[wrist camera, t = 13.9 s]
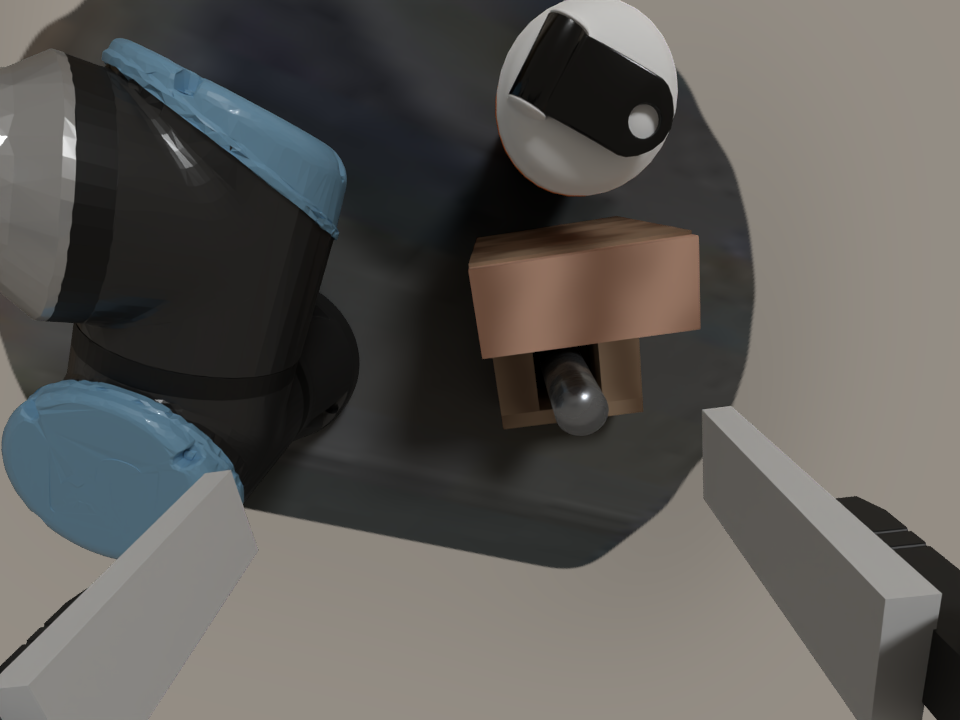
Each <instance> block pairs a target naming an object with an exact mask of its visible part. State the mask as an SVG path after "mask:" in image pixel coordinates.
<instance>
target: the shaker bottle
mask: <svg viewBox="0 0 960 720" xmlns="http://www.w3.org/2000/svg"><path fill="white" fill-rule="evenodd" d="M677 93H678V89H677V75H676V69H675V65H674V61H673V57H672V53H671V51H670V49H669V47H668V45H667V43H666V41H665V39H664V37H663V35H662V34H661V32H660V31H659V30H658V29H657V27H656V26H655V25H654V23H653V22H652V21H651V20H650V19H649V18H648V17H646V16H645V15H644V14H643V13H642V12H640V11H639V10H638V9H637V8H634V7H633V6H630V5H628V4H626V3H624V2H622V1H620V0H566V1H563V2H561V3H559V4H557V5H555V6H553V7H551V8H549V9H547V10H545V11H544V12H543V13H542V14H540V15H539V16H538V17H536V18H535V19H534V20H532V21H531V22H530V23H529V24H528V26H527V27H526V28H525V29H524V30H523V31H522V32H521V33H520V35H519V36H518V37H517V39H516V41H515V42H514V44H513V46H512V47H511V49H510V51H509V52H508V54H507V57H506V59H505V62H504V65H503V67H502V70H501V73H500V78H499V83H498V88H497V94H496V122H497V127H498V133H499V136H500V139H501V142H502V144H503V147H504V150H505V152H506V153H507V155H508V157H509V158H510V160H511V162H512V163H513V165H514V166H515V167H516V169H517V170H518V171H519V172H520V173H521V174H522V175H523V176H524V177H525V178H527V179H528V180H530V181H531V182H532V183H534V184H535V185H536V186H538V187H540V188H542V189H545V190H547V191H549V192H551V193H555V194H560V195H565V196H587V195H594V194H599V193H604V192H607V191H610V190H612V189H614V188H617V187H619V186H622V185H623V184H625V183H626V182H628V181H629V180H631V179H632V178H634V177H635V176H637V175H638V174H639V173H640V172H641V171H642V170H643V169H644V168H645V167H646V166H647V165H648V164H649V163H650V162H651V161H652V160H653V158H654V157H655V155H656V154H657V153H658V151H659V150H660V149H661V147H662V145H663V143H664V141H665V139H666V137H667V135H668V133H669V131H670V129H671V126H672V122H673V118H674V114H675V111H676V102H677Z"/></svg>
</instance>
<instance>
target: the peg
mask: <svg viewBox="0 0 960 720" xmlns="http://www.w3.org/2000/svg"><path fill="white" fill-rule="evenodd" d="M539 362H540V367H541V370H542V374H543V377H544V381H545V384H546V388H547V391H548V395H549V398H550V402H551V405H552V409H553V412H554V416H555V419H556V422H557V423H558V425H559V426H560V428H561V429H562V430H564V431H565V432H567V433H569V434H572V435H576V436H585V435H589V434H592V433H594V432H596V431H597V430H599V429H600V428H601V427H602V426H603V424H604V423H605V421H606V419H607V417H608V412H609V407H608V403H607V400H606V398H605V396H604V395H603V393H602V391H601V389H600V388H599V386H598V384H597V382H596V381H595V379H594V377H593V375H592V373H591V372H590V370H589V368H588V366H587V365H586V363H585V361H584V359H583V358H582V356H581V354H580V352H579V350H578V349H577V347H576V346H574V347H567V348H559V349H552V350H545V351H541V354H540V358H539Z"/></svg>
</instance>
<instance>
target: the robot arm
mask: <svg viewBox="0 0 960 720" xmlns="http://www.w3.org/2000/svg"><path fill="white" fill-rule="evenodd" d="M102 60H103V61H104V63H105V64H106V66H105V67H103V66H99V65H96V64H93V63H90V62H88V61H85V60H82V59H79V58H77V57H74V56H71V55H68V54H66V53H63V52H61V51H58V50H54V49H49V50H46V51H44V52H42V53H39V54H37V55H34V56H32V57H29V58H27V59H24V60H22V61H19V62H17V63H15V64H12V65H10V66H7V67H1V68H0V292H1V293H2V294H3V295H4V296H5V297H6V298H8V299H9V300H10V301H11V302H12V303H14V304H15V305H16V306H17V307H18V308H20V309H21V310H22V311H23V312H24V313H26V314H27V315H28V316H29V317H30V318H32V319H34V320H37V321H50V322H67V323H74V325H73V332H72V340H71V347H70V354H69V362H68V369H67V373H66V376H65V378H64V379H63V381H60V382H57V383H53V384H48V385H46V386H43V387H41V388H39V389H38V390H37V391H36V392H35V393H34V394H32V395H31V396H30V397H29V398H28V400H27V401H25V402H24V403H22V404H21V405H20V406H19V407H18V408H17V409H16V410H15V411H14V412H13V413H12V415H11V416H10V418H9V420H8V422H7V424H6V426H5V428H4V431H3V436H2V455H3V462H4V466H5V470H6V472H7V475H8V477H9V479H10V481H11V483H12V485H13V487H14V489H15V491H16V492H17V494H18V495H19V496H20V498H21V499H22V500H23V501H24V503H25V504H26V506H27V507H28V508H29V509H30V510H31V511H32V512H34V513H35V514H37V515H38V516H39V517H40V518H41V519H42V520H43V521H44V522H45V524H46V525H47V526H48V527H50V528H51V529H52V530H53V531H55V532H56V533H58V534H59V535H61V536H62V537H64V538H66V539H67V540H69V541H71V542H73V543H74V544H76V545H78V546H80V547H82V548H85V549H87V550H89V551H92V552H95V553H97V554H100V555H103V556H106V557H110V558H114V559H117V560H116V561H115V562H114V563H113V564H112V565H111V566H110V567H109V568H108V569H107V570H106V571H105V572H104V573H103V574H102V575H101V576H100V577H99V578H98V579H97V580H96V581H95V582H94V583H93V584H92V585H91V586H89V587H88V588H87V589H85V590H84V591H83V592H81V593H79V594H78V595H77V596H75V597H74V598H72V599H71V600H69V601H68V602H66V603H65V604H64V605H63V606H62V607H61V608H60V609H59V610H58V611H57V612H56V613H55V614H54V615H53V616H52V617H51V618H50V619H49V620H48V621H46V622H45V623H44V627H41V628H39V629H38V630H37V631H36V632H35V633H34V634H33V635H32V636H31V637H30V638H29V639H28V640H27V643H26V644H24V645H22V646H21V647H19V648H18V649H17V650H16V651H15V652H14V653H13V654H12V655H11V656H10V657H9V658H8V659H7V660H6V661H5V662H4V663H3V664H2V665H1V666H0V720H148V719H149V717H150V716H151V714H152V713H153V711H154V710H155V708H156V707H157V705H158V703H159V702H160V700H161V699H162V697H163V696H164V694H165V693H166V691H167V689H168V688H169V687H170V685H171V684H172V682H173V680H174V679H175V677H176V676H177V674H178V673H179V671H180V670H181V668H182V667H183V665H184V664H185V662H186V660H187V659H188V657H189V656H190V654H191V653H192V651H193V650H194V648H195V647H196V645H197V644H198V642H199V641H200V639H201V638H202V636H203V634H204V633H205V631H206V630H207V628H208V626H209V625H210V624H211V622H212V621H213V619H214V618H215V616H216V615H217V613H218V611H219V610H220V608H221V607H222V605H223V604H224V602H225V601H226V599H227V597H228V596H229V595H230V593H231V591H232V590H233V588H234V587H235V585H236V584H237V582H238V581H239V579H240V578H241V576H242V575H243V573H244V572H245V570H246V568H247V567H248V565H249V564H250V562H251V561H252V559H253V558H254V556H255V555H256V553H257V552H258V547H257V545H256V542H255V539H254V536H253V533H252V530H251V527H250V524H249V521H248V518H247V516H246V513H245V510H244V507H243V503H244V502H245V501H246V499H247V498H248V497H249V496H250V494H251V493H252V492H253V491H254V489H255V488H256V487H257V485H258V484H259V483H260V482H261V480H262V479H263V478H264V477H265V475H266V474H267V473H268V471H269V470H270V469H271V468H272V466H273V465H274V464H275V463H276V461H277V460H278V459H279V458H280V456H281V455H282V454H283V452H284V451H285V450H286V449H287V447H288V446H289V445H290V443H291V442H292V441H294V440H297V439H300V438H302V437H305V436H307V435H310V434H312V433H314V432H316V431H318V430H320V429H322V428H323V427H325V426H326V425H327V424H329V423H330V422H331V421H332V420H333V419H334V418H335V417H336V416H337V415H338V414H339V413H340V412H341V410H342V409H343V407H344V406H345V405H346V403H347V402H348V400H349V399H350V397H351V395H352V393H353V391H354V389H355V386H356V383H357V379H358V374H359V353H358V347H357V343H356V340H355V337H354V334H353V332H352V330H351V328H350V326H349V324H348V322H347V321H346V319H345V318H344V316H343V315H342V313H341V312H340V311H339V310H338V309H337V308H336V306H335V305H334V304H333V303H332V302H330V301H329V300H328V299H327V298H326V297H325V296H323V295H322V294H320V293H319V290H320V286H321V283H322V279H323V275H324V272H325V268H326V265H327V261H328V258H329V254H330V251H331V247H332V243H333V240H337V239H338V236H339V231H338V229H337V224H338V220H339V215H340V211H341V207H342V203H343V198H344V194H345V190H346V184H347V176H346V170H345V167H344V165H343V163H342V161H341V159H340V157H339V156H338V155H337V153H336V152H335V151H334V150H333V149H332V148H330V147H329V146H328V145H326V144H325V143H323V142H322V141H320V140H318V139H317V138H315V137H313V136H312V135H310V134H308V133H306V132H305V131H303V130H301V129H299V128H298V127H296V126H294V125H292V124H291V123H289V122H287V121H285V120H283V119H282V118H280V117H278V116H276V115H274V114H272V113H271V112H269V111H267V110H265V109H263V108H261V107H259V106H258V105H256V104H254V103H252V102H250V101H248V100H246V99H244V98H242V97H241V96H239V95H237V94H235V93H233V92H231V91H229V90H227V89H225V88H223V87H221V86H219V85H217V84H215V83H214V82H212V81H210V80H207V79H204V78H201V77H200V76H199V75H197V74H196V73H194V72H192V71H190V70H188V69H186V68H184V67H182V66H179V65H177V64H175V63H174V62H172V61H171V60H169V59H167V58H165V57H163V56H161V55H159V54H157V53H155V52H153V51H151V50H149V49H147V48H145V47H143V46H141V45H139V44H136V43H134V42H132V41H130V40H126V39H122V38H117V39H114V40H113V41H112V42H111V44H110V46H109V48H108V49H106V50H104V51H103V52H102ZM702 439H703V489H704V492H703V493H704V500H705V501H706V503H707V504H708V506H709V507H710V508H711V510H712V511H713V513H714V514H715V516H716V517H717V518H718V520H719V521H720V523H721V524H722V526H723V527H724V529H725V530H726V532H727V533H728V534H729V536H730V537H731V539H732V540H733V542H734V543H735V545H736V546H737V547H738V549H739V550H740V552H741V553H742V555H743V556H744V558H745V559H746V560H747V562H748V563H749V565H750V566H751V568H752V569H753V570H754V572H755V573H756V575H757V576H758V578H759V579H760V581H761V582H762V583H763V585H764V586H765V588H766V589H767V591H768V592H769V593H770V595H771V596H772V598H773V599H774V601H775V602H776V604H777V605H778V607H779V608H780V609H781V611H782V612H783V614H784V615H785V617H786V618H787V620H788V621H789V622H790V624H791V625H792V627H793V628H794V630H795V631H796V633H797V634H798V635H799V637H800V638H801V640H802V641H803V643H804V644H805V645H806V647H807V648H808V650H809V651H810V653H811V654H812V656H813V657H814V659H815V660H816V661H817V663H818V664H819V666H820V667H821V669H822V670H823V671H824V673H825V674H826V676H827V677H828V679H829V680H830V682H831V683H832V685H833V686H834V687H835V689H836V690H837V692H838V693H839V695H840V696H841V697H842V699H843V700H844V702H845V703H846V705H847V706H848V708H849V709H850V711H851V712H852V713H853V715H854V716H855V718H856V719H857V720H922V715H923V710H924V705H925V706H926V707H927V708H928V710H929V711H930V712H931V713H932V714H933V716H934V717H935V718H936V719H937V720H960V570H959V569H958V568H957V567H955V566H954V565H953V564H952V563H950V562H949V561H948V560H947V559H945V558H944V557H943V556H942V555H941V554H939V553H938V552H937V551H935V550H934V549H933V548H932V547H931V546H926V543H925V542H924V541H923V540H922V539H921V538H919V537H918V536H917V535H916V534H914V533H913V532H912V531H908V530H907V527H906V526H904V525H903V524H902V523H901V522H899V521H898V520H897V519H896V518H894V517H893V516H892V515H891V514H890V513H888V512H887V511H886V510H884V509H882V508H880V507H878V506H876V505H874V504H871V503H870V502H867V501H865V500H863V499H861V498H859V497H857V496H854V497H845V498H836V499H835V498H834V497H833V496H832V495H831V494H830V493H828V492H827V491H826V490H825V489H824V488H823V487H821V485H819V484H818V483H817V482H816V481H815V480H814V479H813V478H812V477H810V476H809V475H808V474H807V473H806V472H805V471H804V470H803V469H802V468H800V467H799V466H798V465H797V464H796V463H795V462H794V461H793V460H791V459H790V458H789V457H788V456H787V455H786V454H785V453H784V452H782V451H781V450H780V449H779V448H778V447H777V446H776V445H774V444H773V443H772V442H771V441H770V440H769V439H768V438H767V437H766V436H764V435H763V434H762V433H761V432H760V431H759V430H758V429H756V428H755V427H754V426H753V425H752V424H751V423H750V422H749V421H748V420H746V419H745V418H744V417H743V416H742V415H741V414H739V412H737V411H736V410H735V409H734V408H733V407H732V406H728V407H720V408H712V409H704V410H702Z"/></svg>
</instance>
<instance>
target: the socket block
mask: <svg viewBox="0 0 960 720" xmlns="http://www.w3.org/2000/svg"><path fill="white" fill-rule="evenodd" d="M468 272H469V278H470V284H471V290H472V297H473V303H474V309H475V316H476V322H477V328H478V335H479V341H480V347H481V353H482V359H487V358H493V364H494V370H495V377H496V383H497V390H498V396H499V403H500V410H501V416H502V423H503V429H511V428H519V427H527V426H535V425H542V424H550V423H557V422H556V419H555V416H554V412H553V409H552V405H551V402H550V398H549V395H548V391H547V388H542V389H537V386H536V378H535V370H534V362H533V354H532V352H538V351H545V350H552V349H559V348H567V347H574V346H581V345H588V344H589V354H590V365H591V373H592V375H593V377H594V379H595V381H596V382H597V384H598V386H599V388H600V389H601V391H602V393H603V395H604V396H605V398H606V400H607V403H608V407H609V412H608V416H613V415H620V414H628V413H636V412H643V400H642V383H641V366H640V348H639V337H646V336H653V335H661V334H668V333H675V332H682V331H690V330H697V329H700V279H699V236H697V235H693V234H691V230H687V229H681V228H676V227H671V226H665V225H660V224H655V223H650V222H644V221H639V220H634V219H629V218H623V217H618V216H615V217H608V218H602V219H595V220H589V221H582V222H576V223H569V224H563V225H557V226H550V227H544V228H537V229H531V230H524V231H518V232H511V233H505V234H498V235H492V236H485V237H479V238H477V239H476V242H475V246H474V249H473V252H472V255H471V258H470V261H469V270H468Z"/></svg>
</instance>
